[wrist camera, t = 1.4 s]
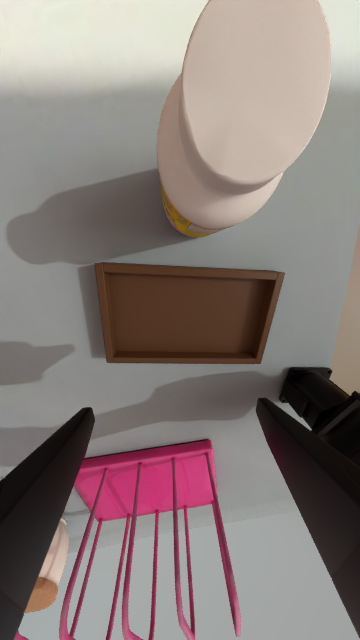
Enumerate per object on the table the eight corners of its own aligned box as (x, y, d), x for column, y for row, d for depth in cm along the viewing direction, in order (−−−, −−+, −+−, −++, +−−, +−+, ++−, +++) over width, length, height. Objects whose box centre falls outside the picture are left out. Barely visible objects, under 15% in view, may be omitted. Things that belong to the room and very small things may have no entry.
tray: (274, 270, 20) (285, 272, 18) (253, 355, 24) (260, 364, 22) (101, 262, 19) (94, 263, 17) (111, 353, 23) (106, 363, 21)
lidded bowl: (85, 533, 40) (57, 630, 30) (29, 539, 39) (-19, 639, 29) (70, 504, 35) (30, 607, 25) (7, 510, 35) (-61, 619, 25)
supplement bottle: (162, 156, 16) (141, -146, 4) (233, 161, 16) (415, -96, 4) (163, 237, 18) (151, 211, 6) (224, 239, 19) (324, 218, 7)
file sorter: (216, 491, 37) (247, 648, 22) (100, 509, 37) (56, 679, 22) (210, 438, 30) (248, 609, 16) (70, 460, 30) (-22, 653, 16)
